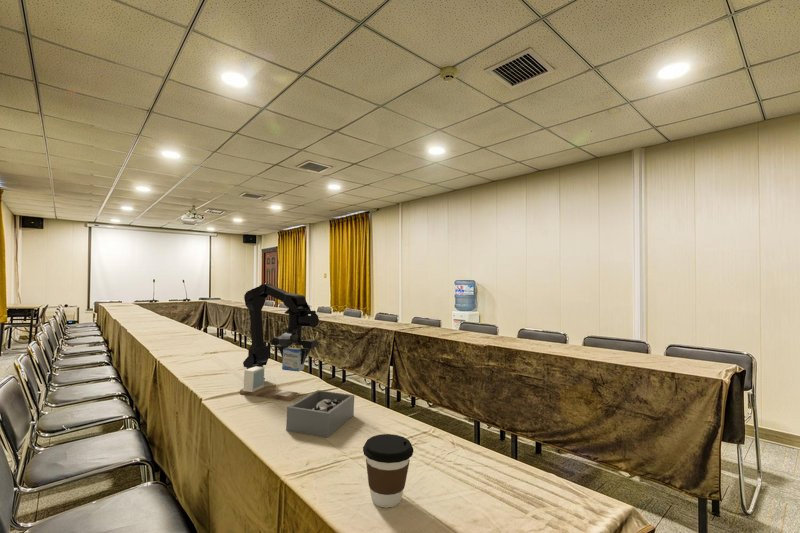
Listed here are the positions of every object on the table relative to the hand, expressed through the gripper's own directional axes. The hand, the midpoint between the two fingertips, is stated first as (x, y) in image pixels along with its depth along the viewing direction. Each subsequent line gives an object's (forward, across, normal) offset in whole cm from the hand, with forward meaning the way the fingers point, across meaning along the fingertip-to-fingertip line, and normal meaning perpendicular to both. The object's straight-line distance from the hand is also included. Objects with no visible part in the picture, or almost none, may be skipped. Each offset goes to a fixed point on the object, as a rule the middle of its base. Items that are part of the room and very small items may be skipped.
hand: (293, 363), depth 157 cm
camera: (+11, +29, -28) cm, 42 cm away
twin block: (+9, -11, -10) cm, 18 cm away
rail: (+11, -4, -10) cm, 15 cm away
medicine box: (+3, 0, 0) cm, 3 cm away
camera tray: (+11, +28, -27) cm, 40 cm away
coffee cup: (+11, +61, -60) cm, 86 cm away
